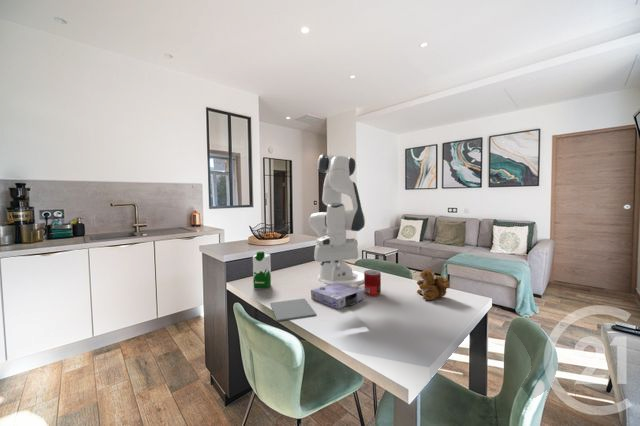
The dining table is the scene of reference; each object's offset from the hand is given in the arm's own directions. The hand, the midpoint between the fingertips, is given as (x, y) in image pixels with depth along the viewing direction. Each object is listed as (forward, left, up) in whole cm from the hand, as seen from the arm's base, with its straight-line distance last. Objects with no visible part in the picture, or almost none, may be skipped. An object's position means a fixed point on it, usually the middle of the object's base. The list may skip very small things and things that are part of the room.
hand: (336, 270), depth 120 cm
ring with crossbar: (-16, -34, -18) cm, 42 cm away
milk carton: (+30, -34, -15) cm, 48 cm away
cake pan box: (+6, -1, -13) cm, 14 cm away
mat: (+21, 0, -15) cm, 26 cm away
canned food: (-21, -6, -15) cm, 27 cm away
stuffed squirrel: (-46, +8, -15) cm, 49 cm away
